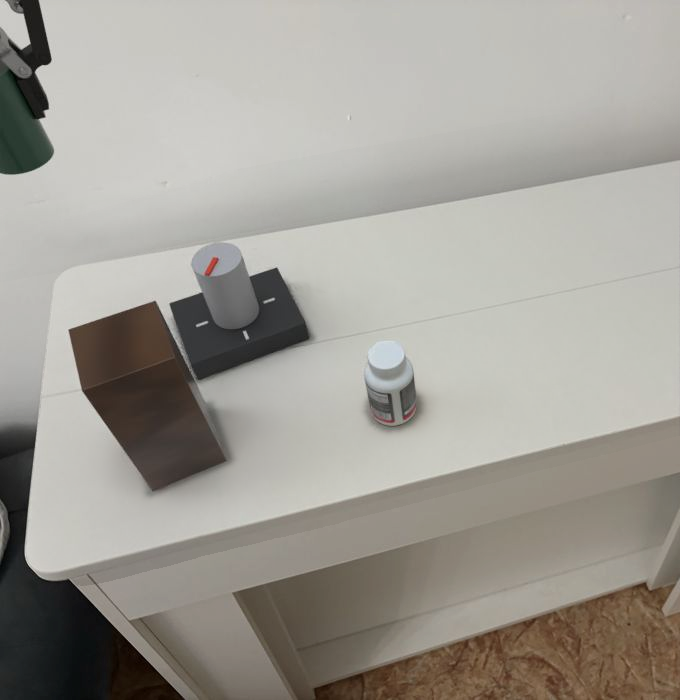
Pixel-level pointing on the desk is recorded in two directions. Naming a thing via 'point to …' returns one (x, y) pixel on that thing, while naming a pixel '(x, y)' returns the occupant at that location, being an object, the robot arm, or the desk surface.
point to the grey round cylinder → (225, 285)
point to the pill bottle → (390, 383)
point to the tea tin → (19, 130)
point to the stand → (146, 394)
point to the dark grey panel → (244, 343)
